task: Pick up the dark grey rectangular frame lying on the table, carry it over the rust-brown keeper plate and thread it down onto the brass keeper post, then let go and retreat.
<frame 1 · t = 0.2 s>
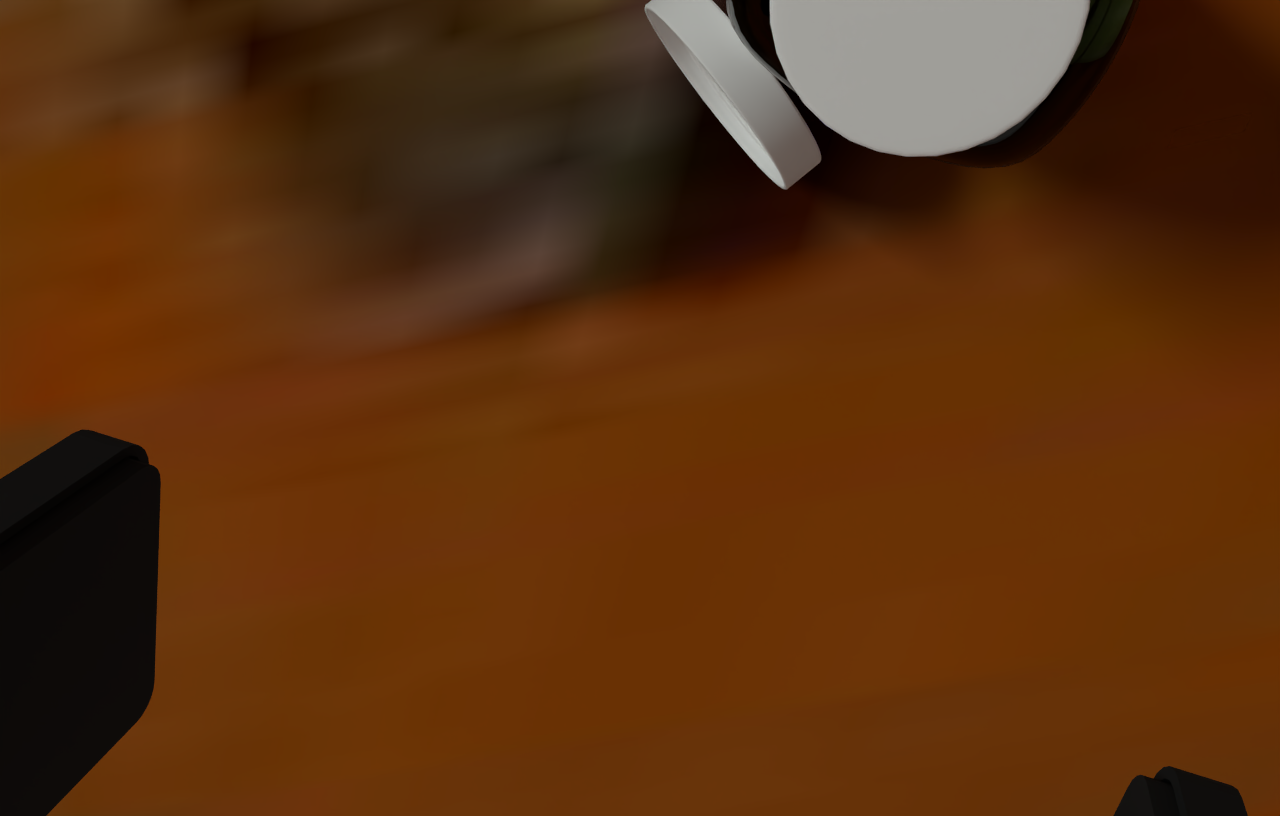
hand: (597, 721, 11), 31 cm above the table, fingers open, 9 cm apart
spread jar: (874, 8, 37), on the table
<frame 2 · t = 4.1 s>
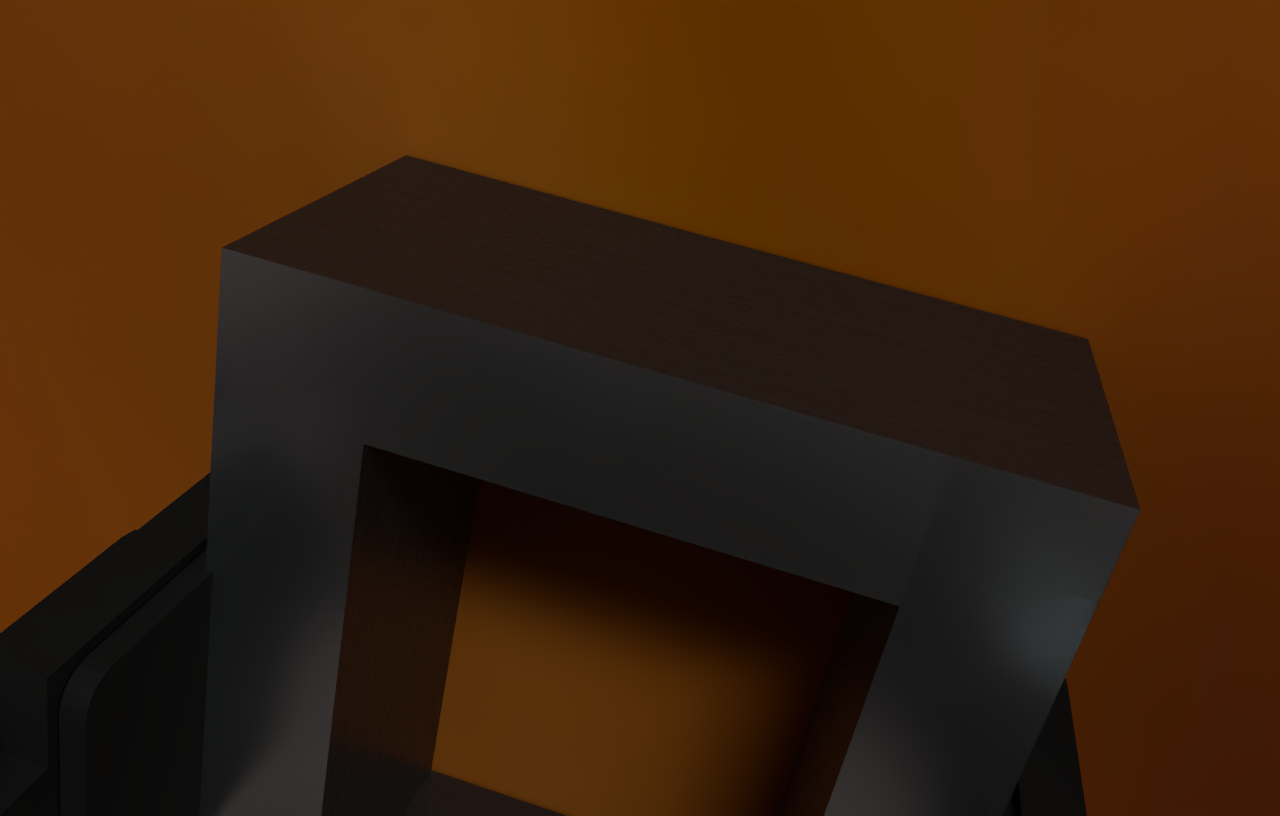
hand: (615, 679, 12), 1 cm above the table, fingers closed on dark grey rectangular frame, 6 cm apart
dark grey rectangular frame: (642, 617, 13), on the table, touching gripper
when the fingers open (5 cm above the table, at t = 8.8 s): dark grey rectangular frame drops 3 cm, resting on keeper.
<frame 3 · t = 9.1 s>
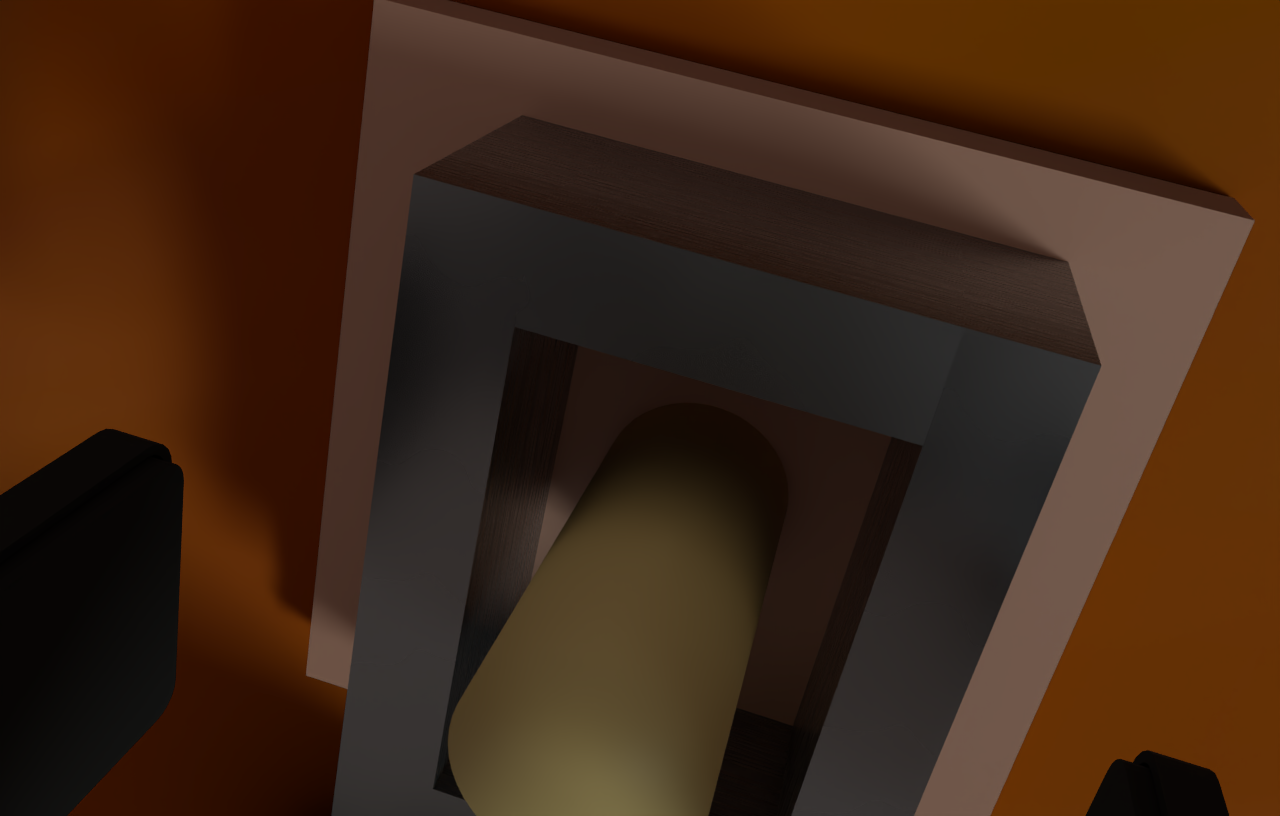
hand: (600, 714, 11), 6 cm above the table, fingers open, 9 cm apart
dark grey rectangular frame: (703, 499, 15), point 1 cm above the table, touching keeper
keeper: (708, 455, 16), on the table
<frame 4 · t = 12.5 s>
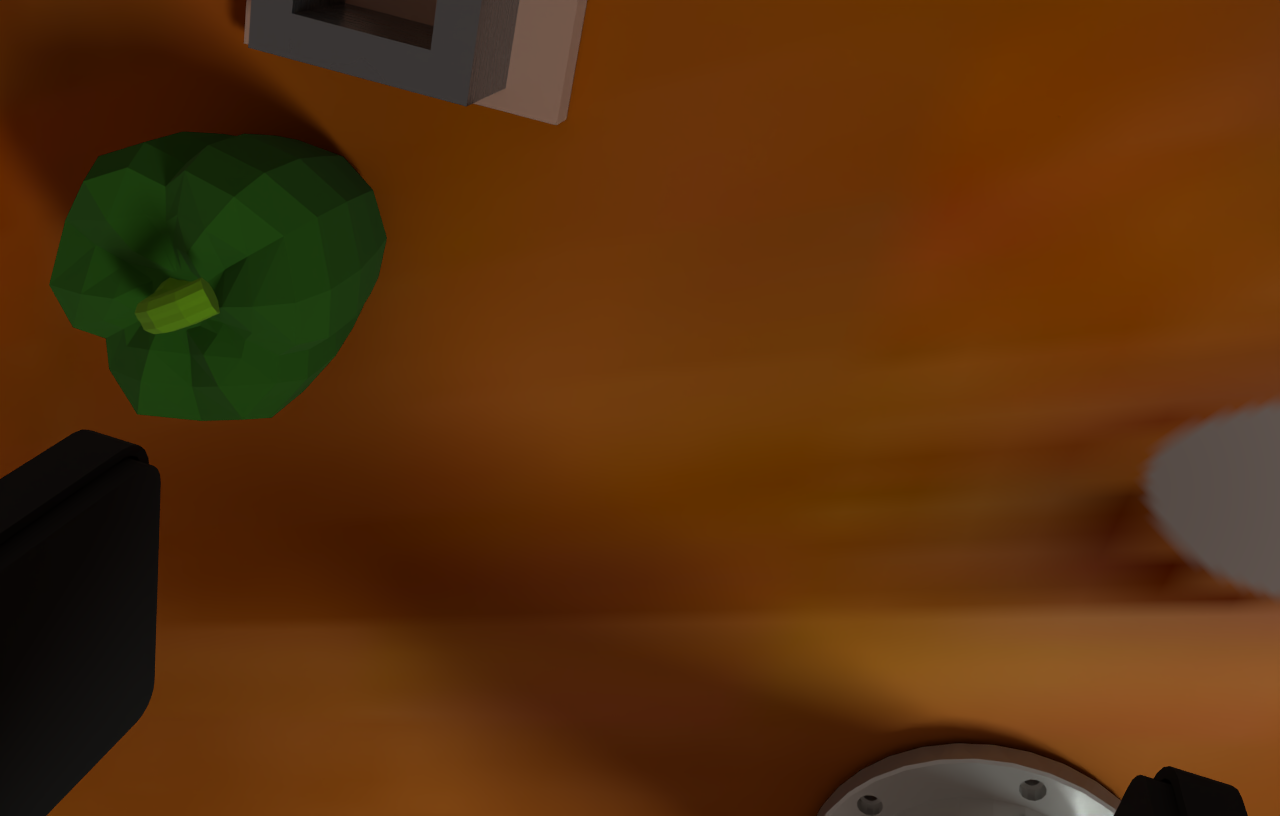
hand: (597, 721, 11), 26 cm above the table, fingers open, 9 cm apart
bell pepper: (310, 230, 40), on the table
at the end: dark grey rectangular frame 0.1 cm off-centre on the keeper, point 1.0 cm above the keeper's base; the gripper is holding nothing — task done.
